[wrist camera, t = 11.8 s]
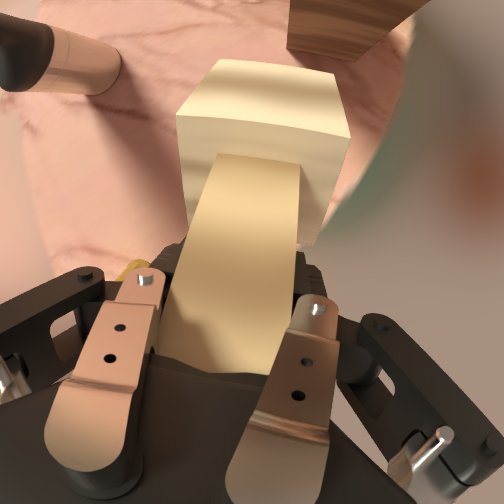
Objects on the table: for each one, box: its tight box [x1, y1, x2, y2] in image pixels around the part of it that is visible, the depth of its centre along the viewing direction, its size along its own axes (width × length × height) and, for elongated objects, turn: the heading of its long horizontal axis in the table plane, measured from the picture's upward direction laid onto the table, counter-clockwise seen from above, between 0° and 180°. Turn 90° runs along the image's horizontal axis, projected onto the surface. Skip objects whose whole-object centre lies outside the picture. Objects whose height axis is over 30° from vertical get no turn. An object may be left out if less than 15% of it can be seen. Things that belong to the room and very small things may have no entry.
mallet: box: [158, 59, 351, 375], centre depth 12 cm, size 20×7×7 cm
